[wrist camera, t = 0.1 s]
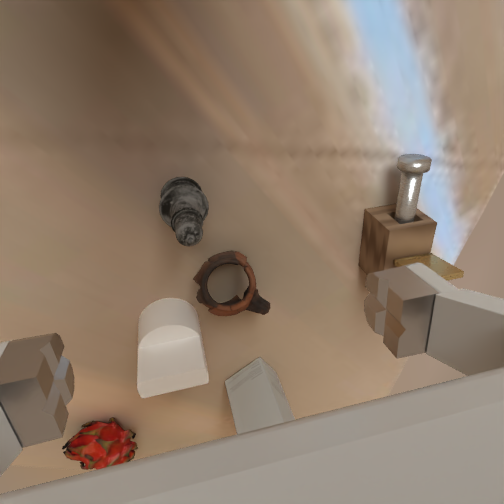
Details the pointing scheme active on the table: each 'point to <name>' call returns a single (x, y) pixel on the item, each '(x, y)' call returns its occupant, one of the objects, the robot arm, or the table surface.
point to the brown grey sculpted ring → (236, 305)
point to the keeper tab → (432, 265)
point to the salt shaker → (184, 209)
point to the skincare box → (257, 398)
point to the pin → (410, 185)
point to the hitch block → (393, 238)
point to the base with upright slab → (169, 348)
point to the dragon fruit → (101, 445)
